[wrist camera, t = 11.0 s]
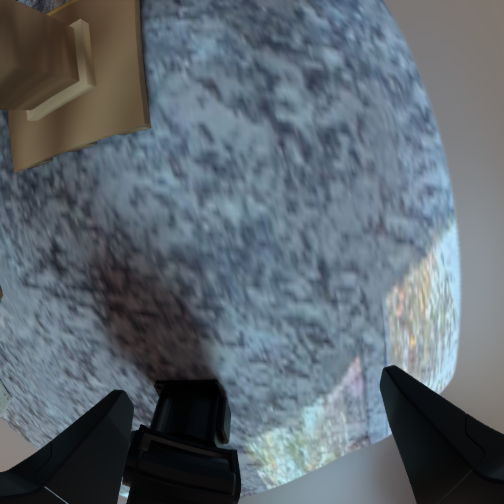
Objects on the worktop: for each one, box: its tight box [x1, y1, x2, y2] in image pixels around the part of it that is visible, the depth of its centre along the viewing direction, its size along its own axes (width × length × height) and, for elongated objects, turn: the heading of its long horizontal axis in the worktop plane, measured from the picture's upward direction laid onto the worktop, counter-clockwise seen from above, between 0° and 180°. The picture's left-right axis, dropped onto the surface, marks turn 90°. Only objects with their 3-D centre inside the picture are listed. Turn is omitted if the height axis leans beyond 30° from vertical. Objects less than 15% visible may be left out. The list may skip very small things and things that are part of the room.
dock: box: [8, 0, 151, 173], centre depth 15 cm, size 12×12×2 cm
